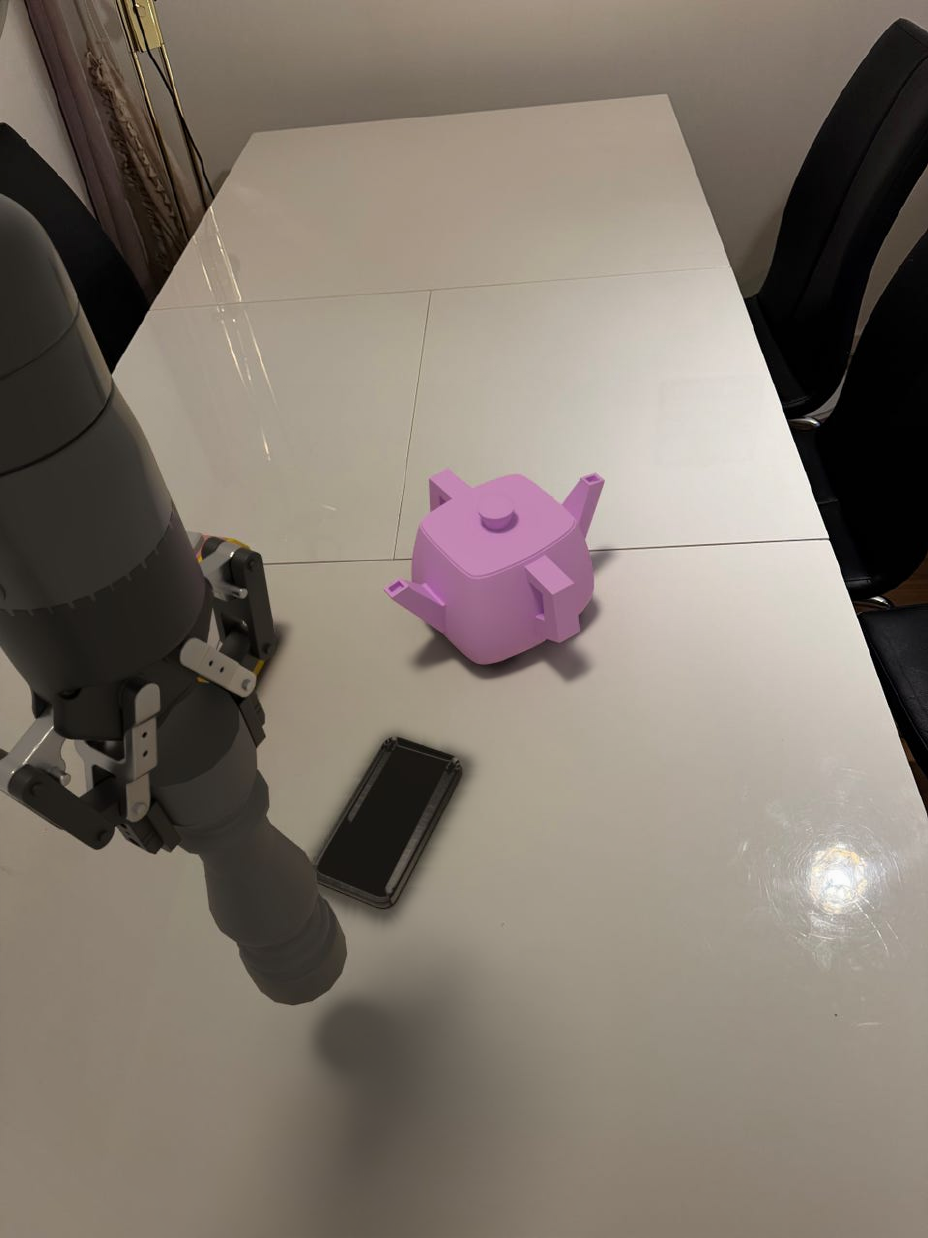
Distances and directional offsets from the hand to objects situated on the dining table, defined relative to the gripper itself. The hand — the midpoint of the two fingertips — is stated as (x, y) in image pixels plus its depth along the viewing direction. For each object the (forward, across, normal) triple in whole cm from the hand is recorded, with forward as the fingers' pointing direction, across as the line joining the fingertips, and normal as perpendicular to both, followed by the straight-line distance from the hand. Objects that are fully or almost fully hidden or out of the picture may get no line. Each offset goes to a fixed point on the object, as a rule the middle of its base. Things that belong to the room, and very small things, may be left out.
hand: (204, 786), depth 44 cm
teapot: (+34, -42, -8) cm, 55 cm away
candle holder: (+21, 0, 0) cm, 21 cm away
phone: (+34, -17, -6) cm, 39 cm away
